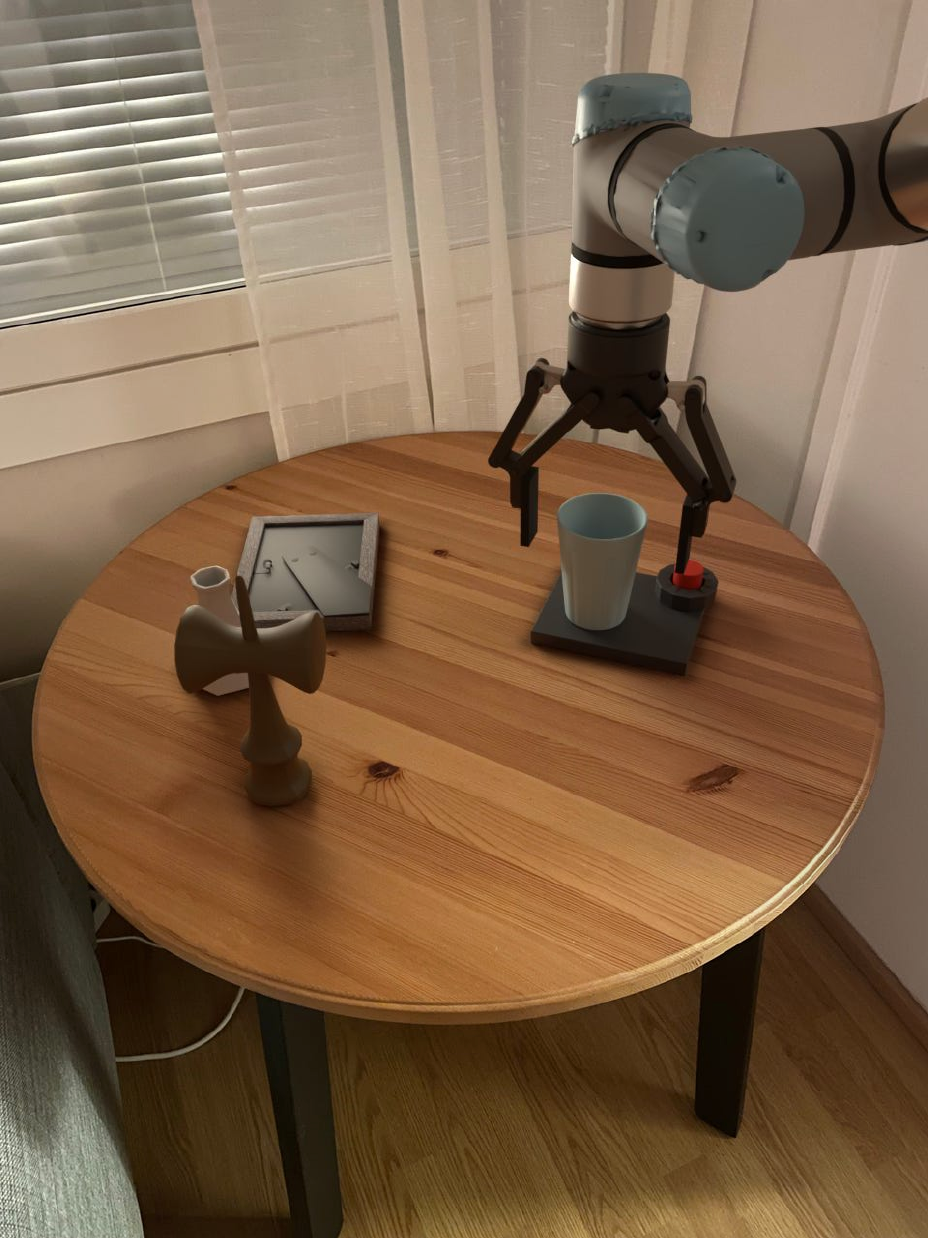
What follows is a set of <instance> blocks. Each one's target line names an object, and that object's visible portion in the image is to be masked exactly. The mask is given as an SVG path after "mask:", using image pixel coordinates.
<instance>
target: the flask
mask: <svg viewBox="0 0 928 1238" xmlns="http://www.w3.org/2000/svg"><path fill="white" fill-rule="evenodd" d="M190 581H191V584H192V587H193V589H194V591H196V593H197V605H199V606H201V607H203V608H205V609H206V610H208V611H209V612H211V613H212V614H214V615H215V616H217V617H218V618H220V619H221V620H223V621H225V622H226V623H228V624H230V625H232V626H235V627H241V622H240V616H239V611H238V610H237V608H236V607H235V605H234V602H233V600H232V598H231V595H232V594H231V592H230V587H229V586H230V584H231V583H232V579H231V576H230V573H229V570H228V569H226V568H224V567H221V566H218V565H212V566H208V567H203V568H200V569H199V570H197V571H195V573H193V574H192V575H190ZM245 689H249V682H248V673H240V674H236V673H234V674H229V675H226V676H224V677H222V678H220V679H218V680H216V681H214V682H213V683H211V684H209V685H208V686H206V687H204V688H203V689H202V690H203V691H206V692H208V693H210V694H213V695H215V696H217V697H218V696H222V695H225V694H226V695H227V694H230V693H234V692H238V691H241V690H245Z"/></svg>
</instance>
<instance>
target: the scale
mask: <svg viewBox="0 0 928 1238" xmlns="http://www.w3.org/2000/svg"><path fill="white" fill-rule="evenodd" d="M675 564H676V563H671V564H668V565H666V566H664V567H663V568H661V569H659V570H658V573H657V575H652V574H646V573H643V572H637V571H636V574H635V578H634V582H633V587H632V591H631V595H630V600H629V604H628V608H627V612H626V616H625V618H624V620H623V621H622V622H621V623H620V624H619V625H617V626H615V627H613V628H611V629H607V630H588V629H584V628H581V627H579V626H577V625H575V624H574V623H572V622H571V621H570V620H569V619H568V617H567V615H566V612H565V603H564V592H563V580H562V570H561V571H560V572H559V575H558V577H557V579H556V580H555V583H554V585H553V586H552V589H551V591H550V592H549V594H548V596H547V598H546V600H545V603H544V604H543V606H542V608H541V610H540V611H539V614H538V616H537V618H536V620H535V622H534V624H533V626H532V628H531V630H530V644H534V645H540V646H543V647H548V648H554V649H558V650H561V651H562V650H563V651H567V652H573V653H576V654H581V655H585V656H591V657H595V658H601V659H605V660H609V661H615V662H619V663H624V664H629V665H633V666H638V667H642V668H648V669H652V670H657V671H662V672H666V673H671V674H675V675H680V676H686V674H687V671H688V668H689V665H690V661H691V658H692V655H693V651H694V649H695V644H696V641H697V638H698V634H699V632H700V628H701V625H702V621H703V618H704V615H705V611H706V610H707V608H709V607H710V606H712V605H714V604H715V602H716V598H717V593H718V587H719V579H718V578H717V576H716V574H715V573H714V572H713V571H712V570H710V569H708V568H707V567H705V566H703V576H702V583H701V586H700V587H699V588H698V589H694V590H685V589H680V588H678V587H676V586H675V585H674V584H673V575H674V567H675Z"/></svg>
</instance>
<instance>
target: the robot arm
mask: <svg viewBox="0 0 928 1238" xmlns="http://www.w3.org/2000/svg"><path fill="white" fill-rule="evenodd" d="M576 103H577V104H576V114H575V116H576V117H575V127H574V135H573V136H572V137H573V138H572V139H571V147H572V148H573V164H572V165H573V166H572V167H573V169H572V209H571V210H572V211H571V213H572V215H571V246H570V247H571V249H570V269H569V287H568V288H569V290H568V306H569V307H570V309H571V310H572V312H571V313H570V314H569V315H568V321H567V322H568V323H567V349H566V350H567V351H566V352H567V353H566V365H565V367H564V368H562V367H559V366H554V365H550V362H549V360H548V359H546V358H545V357H540V358H537V359H536V360H535V362H534V363H533V364H532V366H531V367H530V368H529V369H528V371H527V372H526V375H525V384H524V389H523V395H522V397H521V399H520V400H519V402H518V404H517V406H516V408H515V410H514V411H513V413H512V415H511V417H510V418H509V421H508V422H507V424H506V426H505V428H504V429H503V431H502V433H501V435H500V437H499V439H498V440H497V442H496V443H495V445H494V447H493V450H492V451H491V453H490V454H489V457H488V460H487V462H488V465H489V466H490V467H491V468H493V469H498V468H500V469H502V470H504V471H505V472H507V473H508V475H509V503H510V505H511V507H512V508H515V509H520V537H519V538H520V546H521V547H526V548H529V547H530V546H531V544H532V543H533V540H534V539H535V538H536V535H537V534H538V532H539V531H538V530H539V484H540V483H539V482H540V481H539V476H540V472H539V471H540V467H539V466H534V464H535V463H537V462H538V461H539V460H540V459H541V458H542V457H543V456H544V455H545V454H546V453H547V452H548V451H549V450H551V449H552V447H553V446H555V445H556V444H557V443H558V442H559V441H560V440H561V439H562V438H563V437H564V436H566V434H568V433H570V432H571V431H572V430H573V429H574V428H575V427H577V425H579V424H580V422H584V423H585V424H586V425H588V426H589V429H591V430H598V431H600V430H611V431H614V432H617V433H619V434H620V433H621V434H629V433H630V432H632V431H635V430H636V432H637V433H638V434H639V437H641V438H642V440H643V441H644V442H645V443H646V444H649V445H650V446H651V447H652V449H653V450H654V451H655V453H656V454H657V456H658V457H659V459H661V461H662V463H664V465H665V466H666V467H667V469H668V470H669V472H670V473H671V474H672V476H673V477H674V479H675V480H676V482H678V484H679V485H680V487H681V488H682V489H683V490H684V491H685V493H686V495H685V499H684V501H683V504H682V508H681V516H680V525H679V533H678V542H677V551H676V559H675V564H676V567H675V573H679V574H684V572H685V569H686V567H687V564H688V561H689V560H690V557H691V551H692V550H691V549H692V542H693V538H699V539H702V538H703V536H704V535H705V532H706V531H707V528H708V527H707V526H708V522H709V515H710V509H711V504H713V503H716V502H719V503H724V504H726V503H729V502H730V501H731V500H732V498H733V496H734V493H735V490H736V487H737V478H736V475H735V473H734V470H733V467H732V465H731V462H730V460H729V457H728V454H727V452H726V450H725V447H724V445H723V442H722V439H721V438H720V437H721V436H720V434H719V432H718V429H717V427H716V425H715V422H714V419H713V417H712V414H711V412H710V409H709V406H708V404H707V403H708V402H707V399H708V398H707V395H708V394H707V387H708V385H707V384H708V383H707V380H706V378H705V377H704V376H702V375H695V376H693V377H692V378H691V380H689V381H688V380H687V381H686V380H681V381H679V380H670V378H669V377H668V374H667V356H668V347H669V338H670V326H671V318H670V316H669V314H668V313H667V312H669V311H670V309H671V307H672V306H673V297H674V296H673V295H674V284H675V274H677V275H680V276H681V277H682V278H684V279H685V280H692V281H693V282H695V283H696V284H699V285H704V286H706V287H708V288H710V289H712V290H715V291H719V292H724V293H739V292H745V291H748V290H751V289H754V288H755V287H757V286H758V285H760V284H761V283H762V282H764V281H766V279H768V278H770V276H773V275H775V274H776V273H778V272H779V271H780V270H781V269H782V268H783V267H784V266H785V265H786V264H787V262H788V261H794V260H801V259H807V258H811V257H820V256H822V255H826V254H827V255H828V254H835V253H844V252H849V251H851V252H852V251H856V250H858V251H859V250H864V249H865V250H866V249H875V248H879V247H881V248H883V247H889V246H890V247H891V246H895V247H896V246H897V247H898V246H906V245H912V244H919V243H924V242H927V241H928V97H926V98H925V97H924V98H922V100H920V101H919V102H915V103H912V104H910V105H907V106H905V107H903V108H900V109H897V110H895V111H893V112H890V113H888V114H885V115H883V116H880V117H877V118H874V119H869V120H864V121H857V122H851V123H844V124H838V125H829V126H815V127H808V128H802V129H790V130H781V131H780V130H779V131H771V132H761V133H752V134H744V135H736V136H735V135H734V136H712V135H709V134H704V133H702V132H699V131H696V130H695V129H693V128H691V124H692V123H693V114H692V91H691V89H690V88H689V84H688V82H687V81H686V80H685V79H684V78H682V77H680V76H676V75H672V74H667V73H656V72H622V73H613V74H605V75H601V76H597V77H594V78H591V79H590V80H588V81H587V82H585V83H584V85H582V87H581V89H580V90H579V92H578V96H577V102H576ZM555 386H560V388H561V390H562V392H563V393H564V395H565V396H566V398H567V399H568V401H569V404H568V405H567V407H565V408H564V410H563V411H562V412H561V413H560V414H558V416H556V417H555V418H554V419H553V420H552V421H551V422H550V423H549V424H548V425H547V426H546V427H545V428H544V429H543V430H542V431H541V432H539V434H538V435H537V436H536V437H535V438H533V440H531V441H530V442H529V443H528V444H527V445H526V447H524V448H523V449H522V450H520V451H519V452H517V451H516V450H513V448H514V447H515V445H516V443H517V442H518V439H519V438H520V436H521V434H522V432H523V431H524V429H525V427H526V425H527V424H528V422H529V420H530V418H531V417H532V415H533V413H534V412H535V409H536V408H537V406H538V404H539V402H540V401H541V399H542V397H543V396H544V395H547V394H550V393H551V391H552V390H553V389H554V387H555ZM667 399H671V400H673V401H674V402H675V405H676V408H677V409H678V410H679V411H680V412H684V414H685V415H684V416H685V421H686V424H687V427H688V431H689V432H690V435H691V437H692V440H693V442H694V444H695V447H696V450H697V452H698V455H699V457H700V459H701V460H700V461H701V462H702V464H703V468H704V469H705V470H704V469H703V468H702V467H701V465H700V464H699V463H698V461H697V460H696V458H695V457H694V456H693V455H692V453H691V451H690V450H689V449H688V447H687V446H686V445H685V443H684V442H683V440H682V439H681V438H680V436H679V435H678V434H677V433H676V431H675V430H674V429H673V427H672V425H671V424H670V423H669V419H668V417H667V415H666V413H665V412H664V410H663V409H662V408H661V406H662V405H663V404H664V403H665V402H666V401H667Z"/></svg>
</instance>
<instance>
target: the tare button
mask: <svg viewBox="0 0 928 1238" xmlns="http://www.w3.org/2000/svg"><path fill="white" fill-rule="evenodd" d="M674 564H675V567H676V563H674ZM675 567H674V575H673V584H674V585H675V586H676V587H678V588H680V589H685V590H694V589H698V588H699V587H700V586H701V583H702V576H703V567H704V566H703V565H702V564H701V563H700V562H699V561H696V560H693V559H689V561H688V564H687V567H686V569H685V572H684V574H679V573H675Z"/></svg>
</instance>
